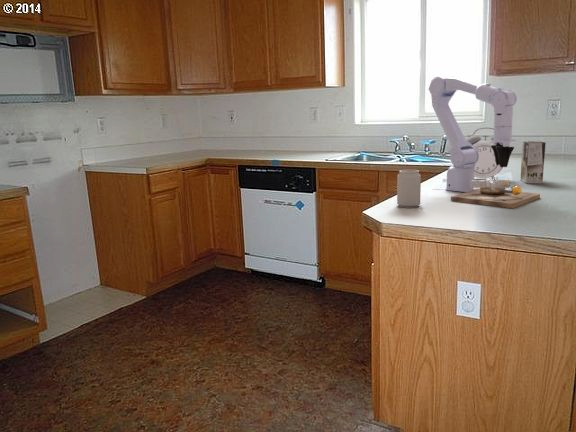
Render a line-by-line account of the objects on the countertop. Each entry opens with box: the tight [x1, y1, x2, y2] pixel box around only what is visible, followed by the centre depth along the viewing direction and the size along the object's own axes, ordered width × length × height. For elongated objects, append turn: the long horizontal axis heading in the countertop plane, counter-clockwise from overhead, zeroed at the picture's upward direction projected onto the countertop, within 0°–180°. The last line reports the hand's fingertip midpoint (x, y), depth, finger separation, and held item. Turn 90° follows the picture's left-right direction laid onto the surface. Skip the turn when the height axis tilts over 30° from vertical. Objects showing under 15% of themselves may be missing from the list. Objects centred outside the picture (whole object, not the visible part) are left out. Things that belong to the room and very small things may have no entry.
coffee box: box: [520, 140, 547, 184], centre depth 195 cm, size 9×6×16 cm
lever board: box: [450, 188, 541, 209], centre depth 166 cm, size 21×21×2 cm
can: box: [396, 169, 422, 209], centre depth 160 cm, size 8×8×12 cm
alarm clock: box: [465, 127, 504, 180], centre depth 203 cm, size 16×9×22 cm, turn 61°
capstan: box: [471, 177, 522, 195], centre depth 167 cm, size 15×15×4 cm
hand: (501, 165), depth 171 cm, fingers open, 7 cm apart
